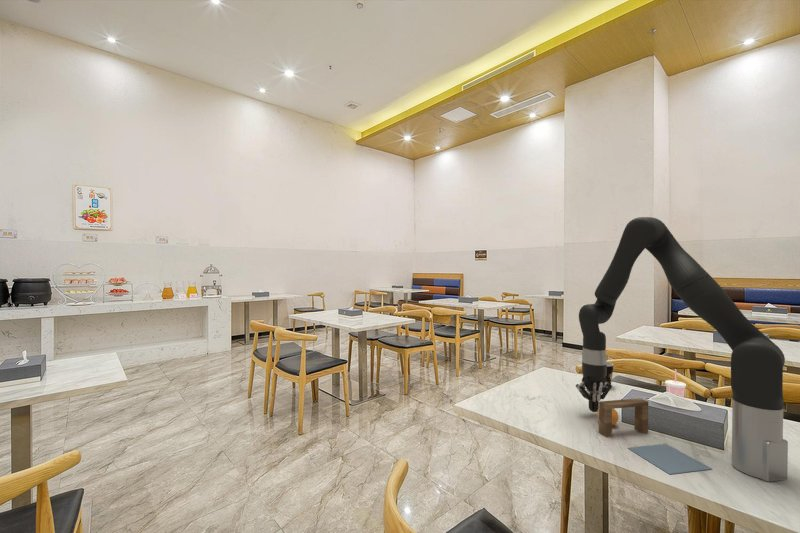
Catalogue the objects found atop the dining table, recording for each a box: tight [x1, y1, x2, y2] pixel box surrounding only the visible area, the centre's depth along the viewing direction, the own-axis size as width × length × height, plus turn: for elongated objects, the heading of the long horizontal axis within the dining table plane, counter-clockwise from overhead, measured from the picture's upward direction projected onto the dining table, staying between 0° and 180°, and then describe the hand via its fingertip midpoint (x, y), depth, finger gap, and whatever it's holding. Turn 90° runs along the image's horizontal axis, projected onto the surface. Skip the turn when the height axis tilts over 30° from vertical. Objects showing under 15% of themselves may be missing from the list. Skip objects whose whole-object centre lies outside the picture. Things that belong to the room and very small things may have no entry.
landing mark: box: [627, 443, 713, 476], centre depth 97 cm, size 13×13×1 cm
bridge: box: [598, 397, 649, 438], centre depth 112 cm, size 3×15×10 cm, turn 101°
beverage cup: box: [664, 368, 687, 399], centre depth 133 cm, size 6×6×14 cm
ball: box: [596, 408, 619, 426], centre depth 118 cm, size 6×6×6 cm
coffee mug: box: [605, 361, 615, 385], centre depth 154 cm, size 12×9×10 cm
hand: (593, 411), depth 125 cm, fingers closed
